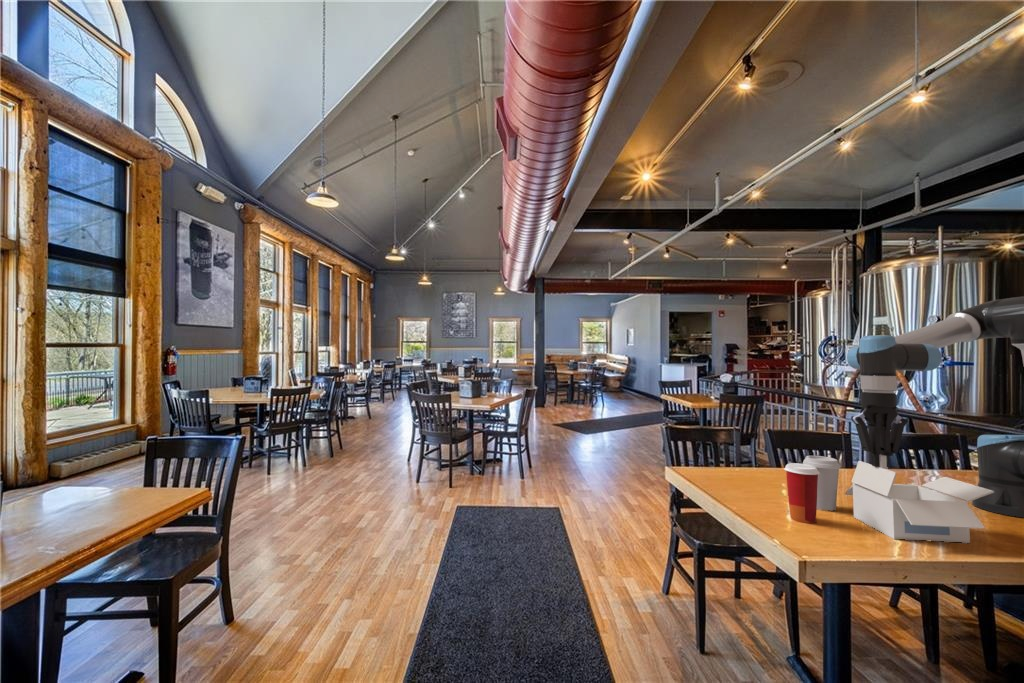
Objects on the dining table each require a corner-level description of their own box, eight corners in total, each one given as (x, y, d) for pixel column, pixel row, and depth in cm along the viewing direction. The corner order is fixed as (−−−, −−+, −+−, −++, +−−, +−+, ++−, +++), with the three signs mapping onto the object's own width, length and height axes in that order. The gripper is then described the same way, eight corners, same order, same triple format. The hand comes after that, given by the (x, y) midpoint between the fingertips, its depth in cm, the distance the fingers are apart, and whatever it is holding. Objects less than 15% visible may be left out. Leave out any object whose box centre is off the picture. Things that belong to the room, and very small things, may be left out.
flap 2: (921, 485, 119) (922, 486, 119) (967, 500, 105) (968, 502, 105) (944, 476, 118) (945, 477, 118) (993, 490, 105) (994, 492, 105)
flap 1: (860, 460, 121) (858, 460, 121) (897, 473, 108) (895, 472, 108) (852, 482, 121) (851, 481, 121) (888, 496, 108) (887, 496, 108)
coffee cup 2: (832, 503, 133) (830, 456, 134) (849, 514, 124) (847, 462, 125) (798, 501, 136) (797, 454, 136) (812, 511, 126) (811, 460, 127)
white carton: (905, 515, 124) (904, 480, 124) (989, 552, 99) (987, 508, 100) (842, 512, 126) (841, 477, 126) (909, 547, 101) (908, 504, 102)
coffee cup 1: (817, 517, 121) (815, 464, 122) (824, 526, 114) (822, 470, 115) (782, 512, 125) (781, 461, 126) (787, 521, 118) (786, 467, 118)
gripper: (893, 391, 118) (896, 476, 117) (843, 390, 120) (845, 474, 119) (915, 393, 111) (918, 484, 109) (862, 391, 112) (864, 481, 111)
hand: (880, 478), depth 114 cm, fingers closed
